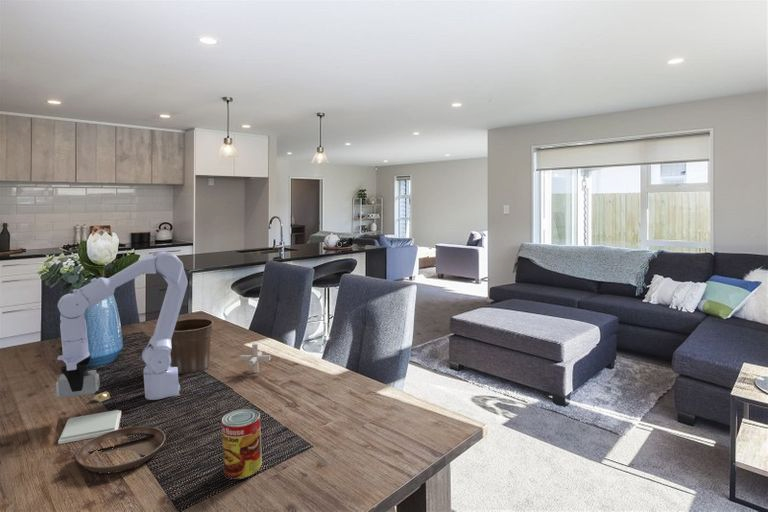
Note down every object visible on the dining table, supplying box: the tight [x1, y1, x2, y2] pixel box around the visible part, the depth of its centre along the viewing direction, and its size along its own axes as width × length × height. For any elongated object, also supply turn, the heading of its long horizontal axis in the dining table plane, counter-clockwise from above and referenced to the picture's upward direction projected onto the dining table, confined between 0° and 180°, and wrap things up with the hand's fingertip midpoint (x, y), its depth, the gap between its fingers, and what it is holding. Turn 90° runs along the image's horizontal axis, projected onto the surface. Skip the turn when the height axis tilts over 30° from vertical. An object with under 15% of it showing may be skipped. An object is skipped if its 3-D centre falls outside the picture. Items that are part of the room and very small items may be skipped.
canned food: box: [221, 408, 263, 478], centre depth 97 cm, size 8×8×12 cm
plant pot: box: [170, 318, 214, 375], centre depth 158 cm, size 16×16×16 cm
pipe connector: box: [239, 342, 272, 374], centre depth 154 cm, size 10×10×10 cm
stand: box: [57, 409, 122, 445], centre depth 114 cm, size 12×12×2 cm
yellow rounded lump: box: [93, 391, 111, 403], centre depth 131 cm, size 3×3×3 cm
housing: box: [55, 369, 101, 399], centre depth 121 cm, size 9×4×5 cm, turn 116°
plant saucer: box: [75, 425, 166, 474], centre depth 103 cm, size 18×18×3 cm
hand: (78, 387), depth 121 cm, fingers closed on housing, 4 cm apart
